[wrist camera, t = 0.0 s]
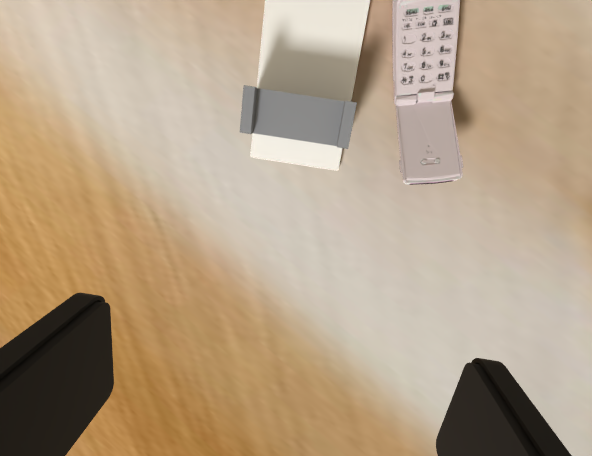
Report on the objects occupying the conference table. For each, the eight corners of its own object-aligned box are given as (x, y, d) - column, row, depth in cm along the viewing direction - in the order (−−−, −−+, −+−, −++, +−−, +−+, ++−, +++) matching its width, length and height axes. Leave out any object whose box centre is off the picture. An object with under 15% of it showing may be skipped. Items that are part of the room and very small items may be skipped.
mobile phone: (401, 186, 32) (405, -147, 24) (388, 176, 38) (388, -98, 30) (464, 181, 32) (490, -160, 24) (442, 171, 37) (457, -108, 29)
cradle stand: (280, -137, 29) (268, -213, 23) (391, -122, 29) (413, -194, 22) (251, 156, 38) (236, 165, 31) (337, 169, 38) (341, 181, 31)
